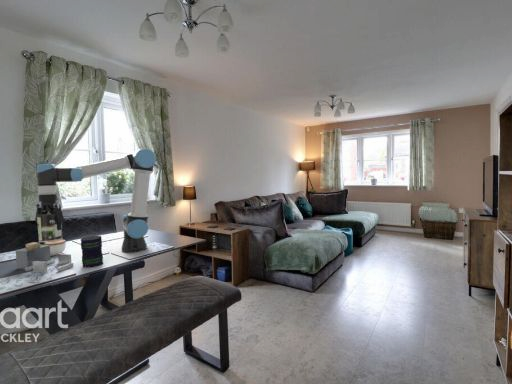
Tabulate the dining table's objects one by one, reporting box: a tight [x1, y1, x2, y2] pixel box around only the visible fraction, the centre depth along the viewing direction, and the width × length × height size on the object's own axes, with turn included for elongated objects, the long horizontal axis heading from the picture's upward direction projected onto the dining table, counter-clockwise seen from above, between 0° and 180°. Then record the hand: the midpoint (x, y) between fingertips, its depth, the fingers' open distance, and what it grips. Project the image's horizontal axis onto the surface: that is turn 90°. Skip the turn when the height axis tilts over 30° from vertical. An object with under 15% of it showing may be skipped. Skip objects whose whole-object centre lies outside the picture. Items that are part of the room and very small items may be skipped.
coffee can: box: [36, 212, 64, 243], centre depth 143 cm, size 10×10×14 cm
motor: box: [15, 241, 74, 274], centre depth 146 cm, size 14×29×12 cm, turn 74°
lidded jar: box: [43, 239, 67, 256], centre depth 170 cm, size 11×11×9 cm
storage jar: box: [80, 235, 104, 269], centre depth 148 cm, size 10×10×15 cm
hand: (50, 235), depth 143 cm, fingers closed on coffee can, 10 cm apart
